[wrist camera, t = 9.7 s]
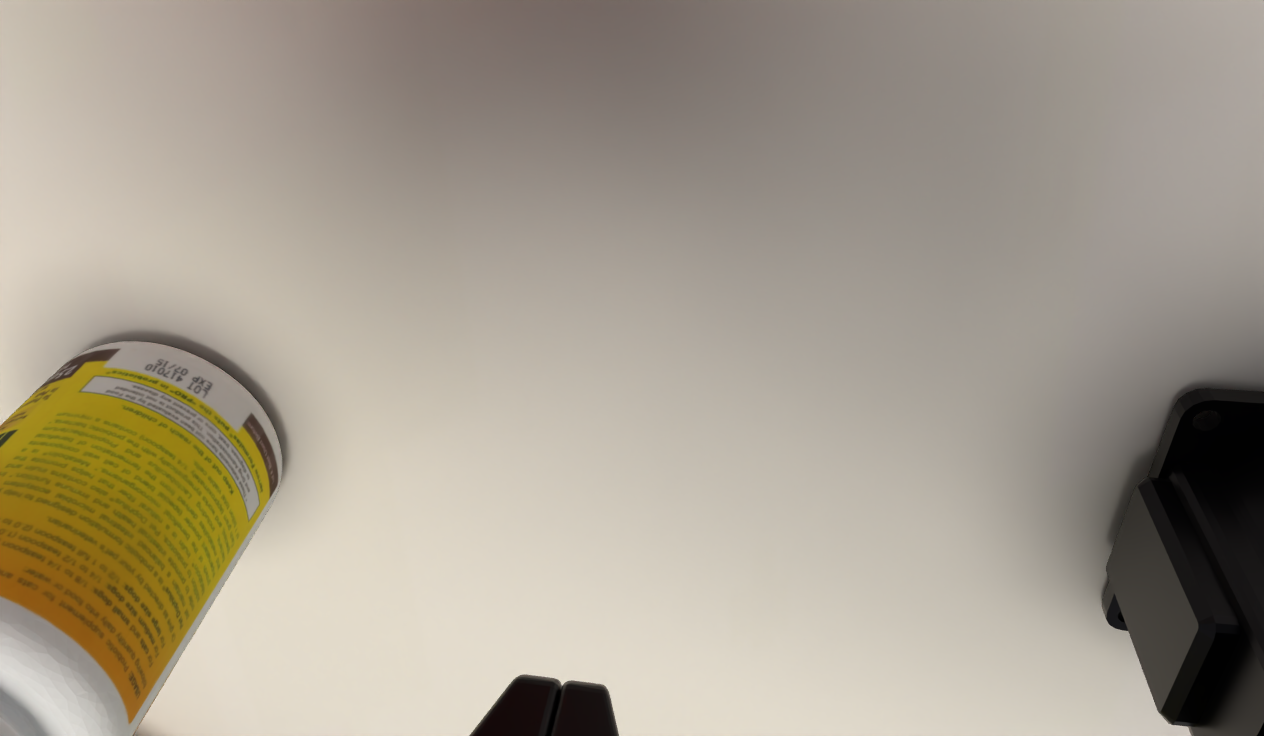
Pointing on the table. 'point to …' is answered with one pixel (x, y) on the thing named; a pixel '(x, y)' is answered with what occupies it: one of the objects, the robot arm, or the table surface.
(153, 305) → the table surface
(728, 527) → the table surface
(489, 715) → the robot arm
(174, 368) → the supplement bottle
